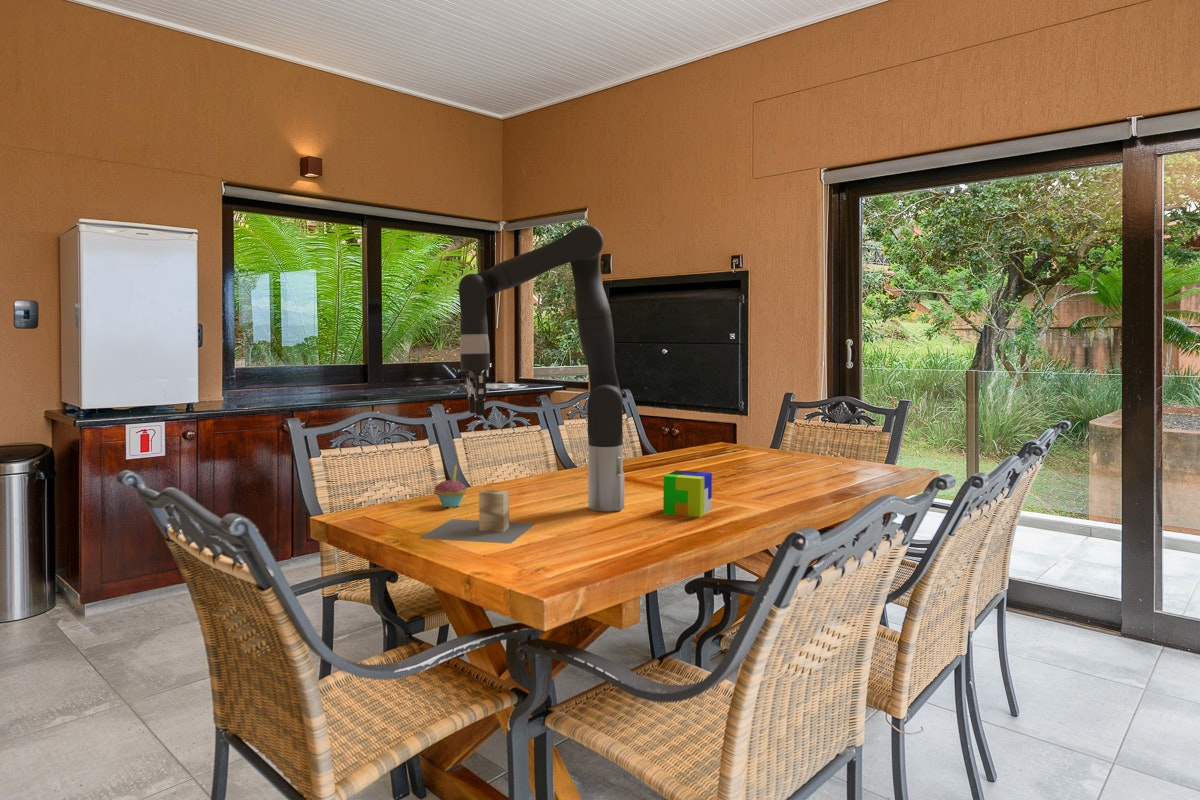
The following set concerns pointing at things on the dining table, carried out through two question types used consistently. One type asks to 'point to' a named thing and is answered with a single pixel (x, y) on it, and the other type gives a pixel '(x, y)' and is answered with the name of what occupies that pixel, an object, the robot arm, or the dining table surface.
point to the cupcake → (450, 491)
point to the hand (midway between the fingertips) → (476, 414)
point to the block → (494, 510)
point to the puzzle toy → (687, 493)
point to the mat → (476, 532)
